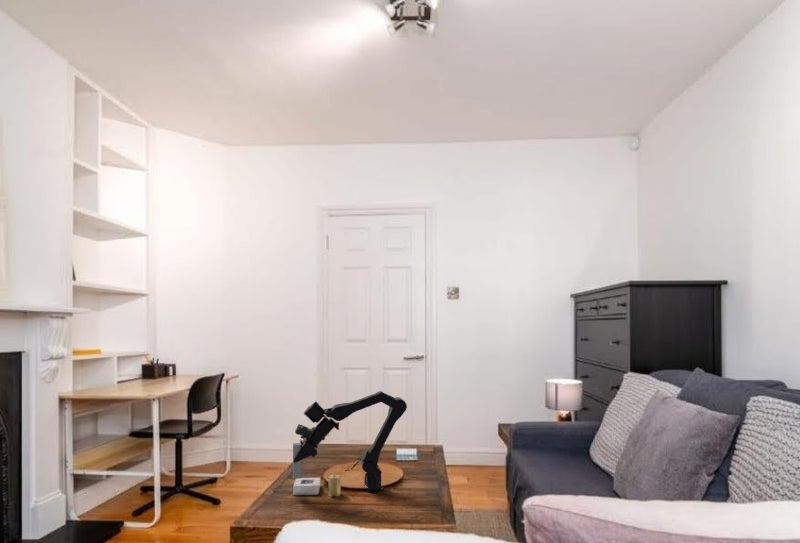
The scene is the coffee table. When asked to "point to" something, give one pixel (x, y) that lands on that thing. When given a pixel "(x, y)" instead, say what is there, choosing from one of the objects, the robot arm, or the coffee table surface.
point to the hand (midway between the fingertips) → (293, 460)
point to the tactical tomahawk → (358, 459)
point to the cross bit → (334, 485)
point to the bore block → (306, 486)
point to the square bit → (298, 464)
